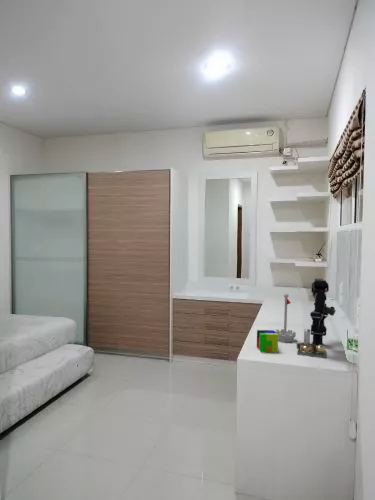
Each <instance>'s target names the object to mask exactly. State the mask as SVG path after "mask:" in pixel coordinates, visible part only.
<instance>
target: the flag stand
mask: <svg viewBox="0 0 375 500" xmlns="http://www.w3.org/2000/svg"><path fill="white" fill-rule="evenodd" d="M283 297H284V314H283V315H284V316H283V317H284V319H283V324H284V326H283V328H281V329H275V330H274V331H275V332H276V333H277V334H278V342H281V343H292V342H294V340H295V339H294V338H295V337H296V335H297V334H296V331H294V330H291V329H288V330H287V326H288V323H287V322H288V305H289V304H291V303H292V302H291V301H290V300H289V298H288V297H289V294H288V293H284V294H283Z"/></svg>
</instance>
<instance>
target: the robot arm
mask: <svg viewBox="0 0 375 500" xmlns="http://www.w3.org/2000/svg"><path fill="white" fill-rule="evenodd" d="M329 288H330V287H329V283H328V282H327V280H326V279H325V280H324V279H323V278H314V281H313V282H312V283H311V291H310V292H311V294H312V295H311V296H312V297H313V298H314V303H313V305H314V310H313V311H311V312H310V313H309V314H310V318H311V320H312V321H311V324H310V336H311V335H312V341H311V344H314V345H322V346H324V342H323V338H324V337H326V336H327V329H328V328H327V327H326V325H325V319H327V318H328V316H329V315H330V316H334V315H335V313H336V312H337V311H336V309H335V307H334V306H330V307H329V306H327V303H326V300H327V295H326V293H328V292H329V291H330V290H329Z"/></svg>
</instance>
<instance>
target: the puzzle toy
mask: <svg viewBox="0 0 375 500" xmlns="http://www.w3.org/2000/svg"><path fill="white" fill-rule="evenodd" d="M256 348H257V349H258V351H260V353H261V352H263V353H266V352H270V353H272V352H273V353H275V352H277V353H278V352H279V351H278V348H279V341H278V334H277V333H276V332H275V330H274V329H273V330H272V329H267V330H266V329H257V330H256Z"/></svg>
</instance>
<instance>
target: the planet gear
mask: <svg viewBox="0 0 375 500" xmlns="http://www.w3.org/2000/svg"><path fill="white" fill-rule="evenodd" d="M310 342H311V329H310V328H304V329H303V343H304V345H300V351H303V352H313V350H314V347H313V346H312V345H310V344H311V343H310Z"/></svg>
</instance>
